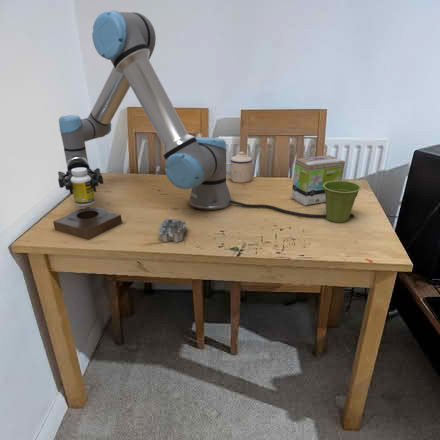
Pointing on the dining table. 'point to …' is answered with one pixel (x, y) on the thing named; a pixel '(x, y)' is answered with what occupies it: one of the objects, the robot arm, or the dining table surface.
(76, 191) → the pill bottle
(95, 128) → the robot arm
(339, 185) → the plant pot
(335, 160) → the tea box
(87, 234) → the bottle stand
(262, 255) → the dining table surface
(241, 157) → the teacup with lid
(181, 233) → the egg carton
